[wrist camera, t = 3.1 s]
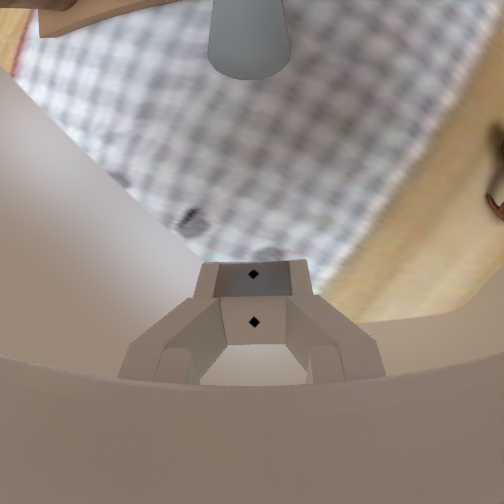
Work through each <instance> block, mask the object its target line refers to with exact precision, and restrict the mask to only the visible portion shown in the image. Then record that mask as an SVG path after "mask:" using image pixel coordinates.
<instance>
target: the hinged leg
mask: <svg viewBox="0 0 504 504" xmlns="http://www.w3.org/2000/svg"><path fill="white" fill-rule="evenodd" d="M289 58H290V45H289V38H288V32H287V26H286V20H285V14H284V8H283V3H282V0H214V3H213V10H212V18H211V27H210V35H209V44H208V59H209V61H210V63H211V65H212V66H213V67H214V68H215V69H216V70H217V71H218V72H220V73H222V74H223V75H226V76H228V77H231V78H235V79H241V80H256V79H262V78H266V77H269V76H271V75H273V74H275V73H277V72H279V71H280V70H281V69H283V68H284V67H285V65H286V64H287V63H288V61H289Z"/></svg>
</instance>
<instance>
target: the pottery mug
mask: <svg viewBox="0 0 504 504" xmlns="http://www.w3.org/2000/svg"><path fill="white" fill-rule="evenodd" d="M501 151H502V152H503V154H504V143H503V144H502V146H501ZM487 197H488V201H489V203H490V205H491V207H492V209H493V211H494V212H495V213H496V215H497V216H498V217H499V218H500V219H501V220H503V221H504V202H503V203H502V204H501V206H500V207H499V206H497V205H496V203H495V202H494V200H493V198H492V196H490V195H488V196H487Z"/></svg>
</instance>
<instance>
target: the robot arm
mask: <svg viewBox="0 0 504 504" xmlns="http://www.w3.org/2000/svg"><path fill="white" fill-rule="evenodd" d="M246 344H286V346H287V347H288V349H289V350H290V352H291V353H292V354H293V355H294V357H295V358H296V359H297V360H298V362H299V363H300V364H301V365H302V367H303V368H304V369H305V370H306V372H307V380H306V384H301V385H276V386H215V385H200V382H199V380H200V379H201V378H202V376H203V375H204V374H205V373H206V372H207V370H208V369H209V368H210V367H211V366H212V364H213V363H214V362H215V361H216V359H217V358H218V357H219V356H220V354H221V353H222V352H223V351H224V350H225V348H226V347H227V345H246ZM0 504H504V352H501V353H498V354H494V355H490V356H487V357H482V358H478V359H474V360H470V361H466V362H462V363H457V364H453V365H448V366H443V367H439V368H433V369H428V370H423V371H417V372H411V373H405V374H399V375H392V376H386V373H385V370H384V366H383V363H382V360H381V356H380V353H379V350H378V347H377V343H376V341H375V340H374V339H373V338H372V337H370V336H369V335H368V334H367V333H366V332H364V331H363V330H362V329H360V328H359V327H358V326H357V325H356V324H354V323H353V322H352V321H351V320H349V319H348V318H347V317H346V316H344V315H343V314H342V313H341V312H339V311H338V310H337V309H336V308H334V307H333V306H332V305H331V304H329V303H328V302H327V301H326V300H324V299H323V298H322V297H321V296H319V295H313V291H312V285H311V280H310V275H309V270H308V265H307V261H306V260H305V259H300V260H289V261H271V262H221V263H220V262H207V263H203V264H202V266H201V270H200V273H199V277H198V281H197V285H196V288H195V292H194V296H193V298H187V299H186V300H185V301H183V302H182V303H181V304H180V305H178V306H177V307H176V308H175V309H173V310H172V311H171V312H169V313H168V314H167V315H166V316H165V317H163V318H162V319H161V320H159V321H158V322H157V323H155V324H154V325H153V326H152V327H151V328H149V329H148V330H147V331H145V332H144V333H143V334H142V335H140V336H139V337H138V338H136V339H135V340H134V341H133V342H131V343H130V344H129V347H128V350H127V352H126V355H125V357H124V360H123V363H122V366H121V368H120V371H119V374H118V377H117V378H115V377H107V376H99V375H94V374H87V373H81V372H75V371H70V370H64V369H59V368H54V367H49V366H44V365H40V364H35V363H31V362H27V361H22V360H18V359H14V358H10V357H7V356H3V355H0Z"/></svg>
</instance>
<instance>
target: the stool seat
mask: <svg viewBox="0 0 504 504" xmlns="http://www.w3.org/2000/svg"><path fill="white" fill-rule="evenodd" d="M175 1H180V0H0V8H27V9H38V17H39V36H40V38H56V37H58V36H61V35H63V34H66V33H68V32H71V31H73V30H76V29H78V28H81V27H84V26H87V25H89V24H92V23H95V22H98V21H101V20H104V19H107V18H110V17H114V16H117V15H120V14H124V13H127V12H131V11H135V10H139V9H143V8H147V7H151V6H155V5H160V4H165V3H170V2H175Z"/></svg>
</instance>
